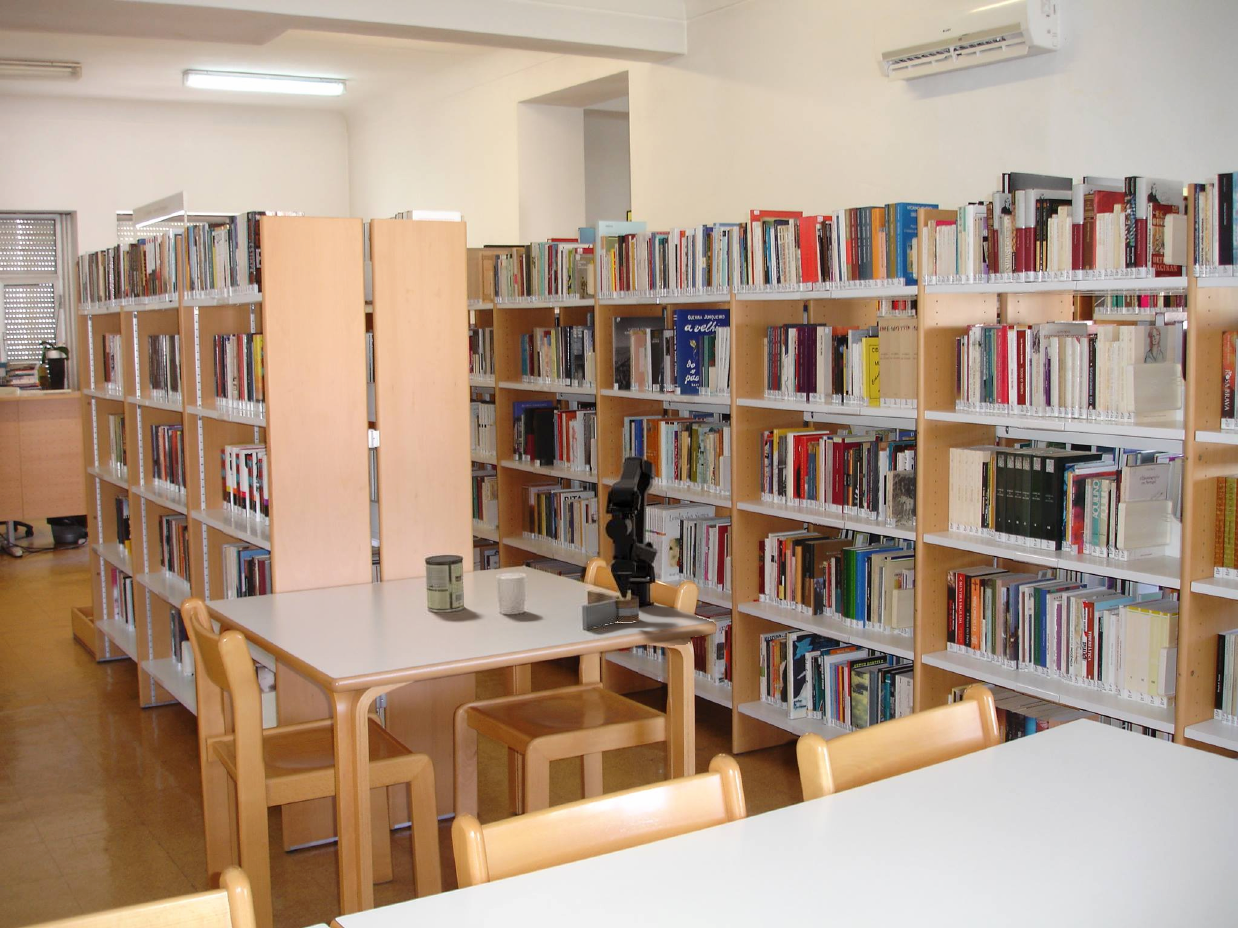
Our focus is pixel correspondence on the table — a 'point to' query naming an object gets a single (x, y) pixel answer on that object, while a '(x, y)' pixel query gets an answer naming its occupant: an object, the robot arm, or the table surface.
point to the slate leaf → (604, 613)
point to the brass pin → (627, 595)
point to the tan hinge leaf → (633, 602)
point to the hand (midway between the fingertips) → (625, 593)
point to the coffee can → (444, 583)
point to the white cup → (511, 592)
